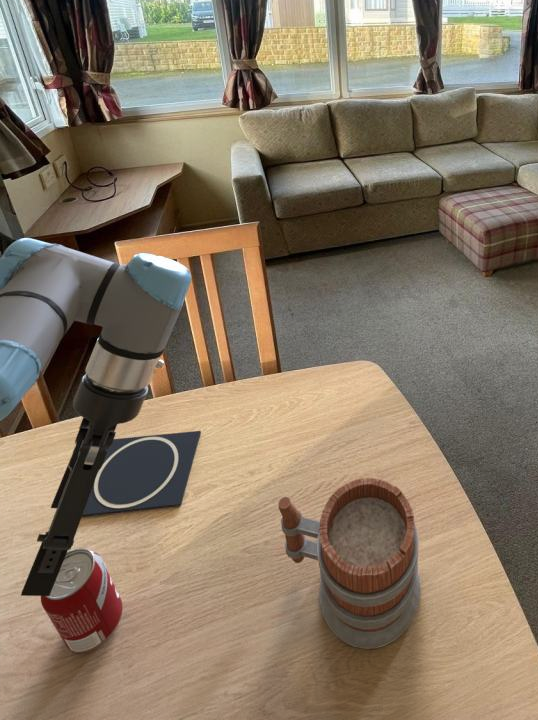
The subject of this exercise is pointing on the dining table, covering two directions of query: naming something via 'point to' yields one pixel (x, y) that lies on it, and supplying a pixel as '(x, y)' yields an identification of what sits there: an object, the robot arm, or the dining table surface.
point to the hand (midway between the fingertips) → (50, 545)
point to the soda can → (83, 601)
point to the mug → (361, 560)
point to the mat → (143, 473)
